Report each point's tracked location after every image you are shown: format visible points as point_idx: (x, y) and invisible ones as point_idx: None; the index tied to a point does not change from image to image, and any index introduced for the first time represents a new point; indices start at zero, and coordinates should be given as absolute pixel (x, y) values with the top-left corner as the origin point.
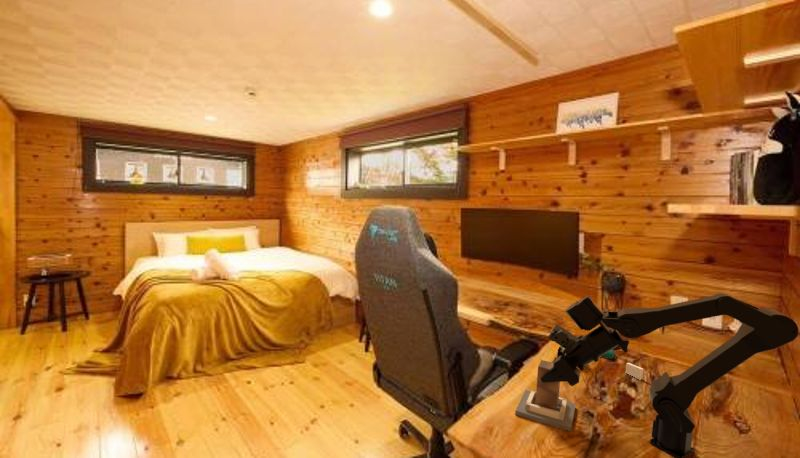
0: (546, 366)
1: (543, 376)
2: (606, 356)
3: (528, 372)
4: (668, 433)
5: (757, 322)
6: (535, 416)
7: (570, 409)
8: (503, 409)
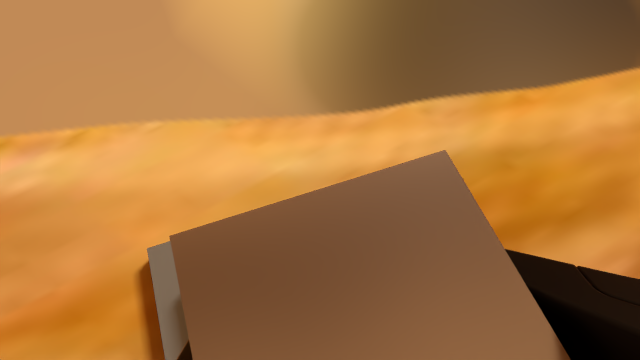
0: (283, 327)
1: (183, 352)
2: None
3: (561, 97)
4: None
5: None
6: (166, 354)
7: None
8: (159, 195)
